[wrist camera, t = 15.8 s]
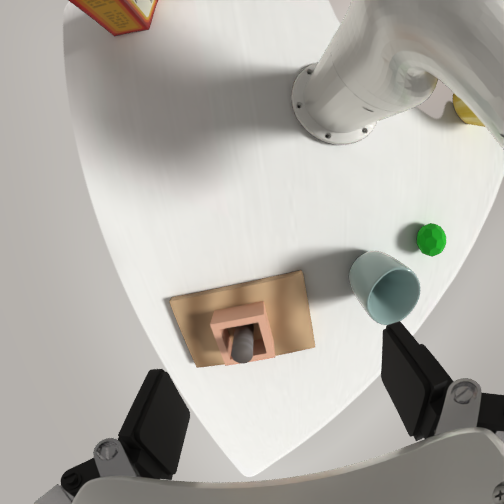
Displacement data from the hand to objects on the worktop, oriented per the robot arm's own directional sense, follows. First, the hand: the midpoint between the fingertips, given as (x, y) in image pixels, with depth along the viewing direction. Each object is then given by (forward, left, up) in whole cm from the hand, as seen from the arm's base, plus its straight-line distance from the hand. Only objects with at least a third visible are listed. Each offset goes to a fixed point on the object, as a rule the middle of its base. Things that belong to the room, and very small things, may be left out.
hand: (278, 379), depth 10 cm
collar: (+6, +13, -27) cm, 30 cm away
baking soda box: (+11, -42, -28) cm, 52 cm away
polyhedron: (-25, +6, -29) cm, 38 cm away
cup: (-14, +9, -28) cm, 33 cm away
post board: (+6, +13, -28) cm, 32 cm away
